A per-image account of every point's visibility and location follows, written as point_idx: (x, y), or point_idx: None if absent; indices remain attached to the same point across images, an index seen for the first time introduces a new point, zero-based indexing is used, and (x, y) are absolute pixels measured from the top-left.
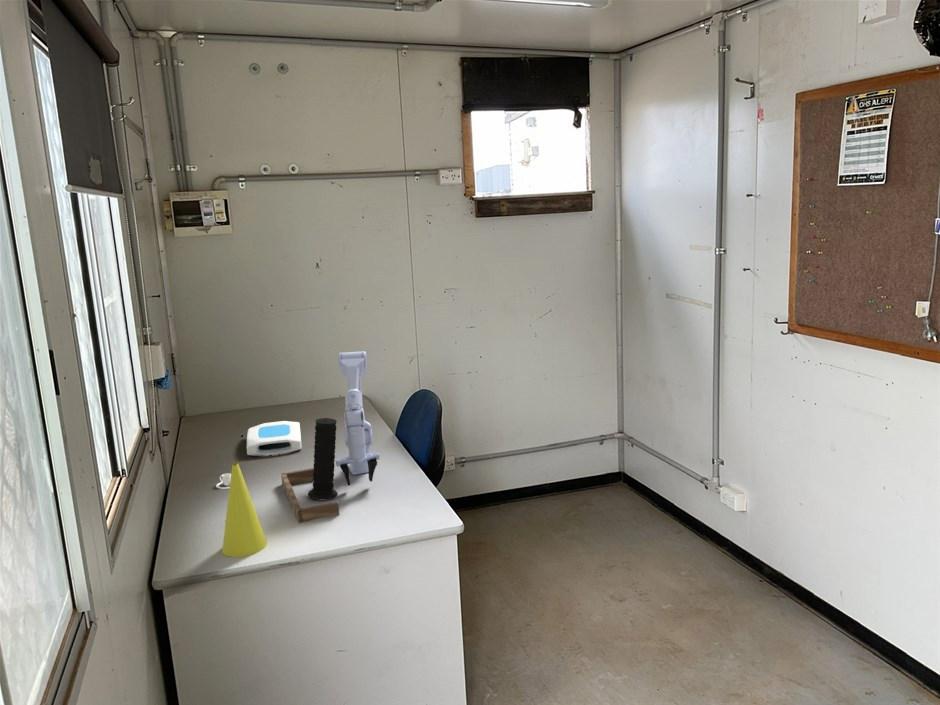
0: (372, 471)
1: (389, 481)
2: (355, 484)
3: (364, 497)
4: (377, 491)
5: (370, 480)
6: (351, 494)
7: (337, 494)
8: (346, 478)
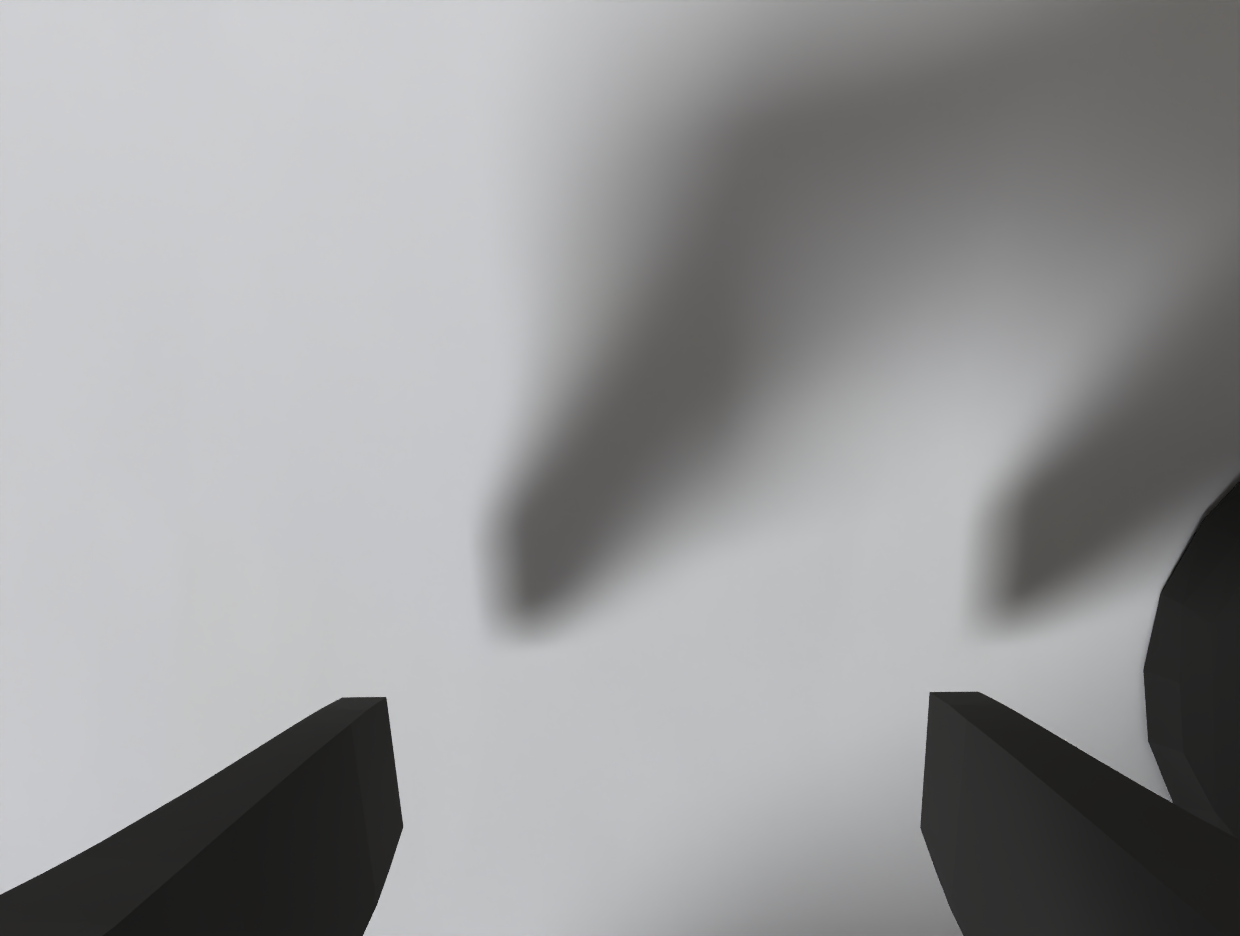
0: (90, 881)
1: (63, 778)
2: (691, 918)
3: (665, 155)
4: (334, 385)
5: (371, 707)
6: (893, 470)
7: (1195, 564)
8: (1198, 824)
